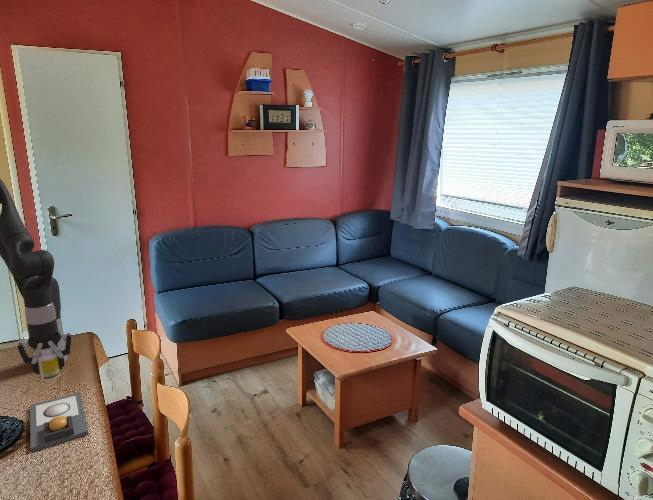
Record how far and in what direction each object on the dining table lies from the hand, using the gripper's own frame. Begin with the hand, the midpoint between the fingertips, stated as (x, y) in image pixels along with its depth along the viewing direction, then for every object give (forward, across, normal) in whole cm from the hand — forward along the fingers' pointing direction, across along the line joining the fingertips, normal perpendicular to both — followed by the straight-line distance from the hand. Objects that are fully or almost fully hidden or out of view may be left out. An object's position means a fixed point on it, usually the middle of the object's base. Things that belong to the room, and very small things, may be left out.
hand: (49, 370), depth 139 cm
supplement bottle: (+2, 0, 0) cm, 2 cm away
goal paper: (+14, 0, 0) cm, 14 cm away
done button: (+12, 0, -12) cm, 17 cm away
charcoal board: (+15, 0, -4) cm, 16 cm away
